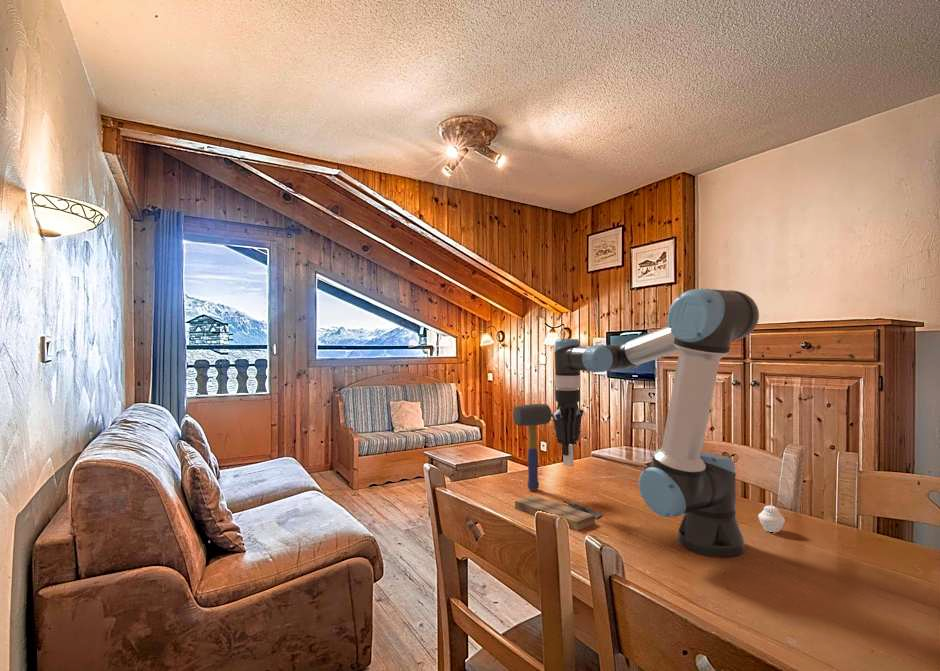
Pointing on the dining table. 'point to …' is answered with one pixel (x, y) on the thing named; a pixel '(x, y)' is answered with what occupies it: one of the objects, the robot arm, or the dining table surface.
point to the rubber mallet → (532, 435)
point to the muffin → (771, 519)
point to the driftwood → (583, 509)
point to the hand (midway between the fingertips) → (568, 465)
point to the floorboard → (556, 511)
